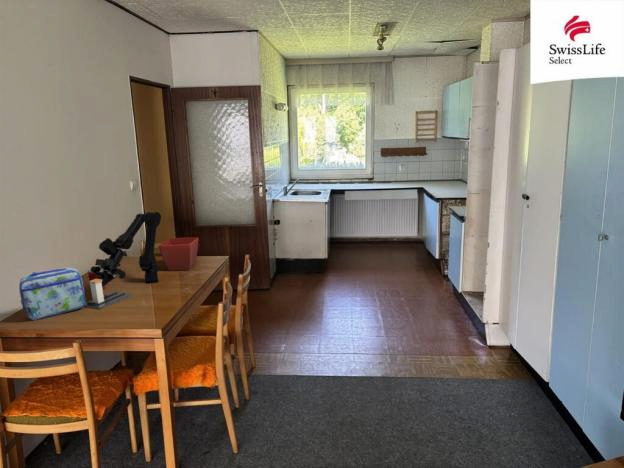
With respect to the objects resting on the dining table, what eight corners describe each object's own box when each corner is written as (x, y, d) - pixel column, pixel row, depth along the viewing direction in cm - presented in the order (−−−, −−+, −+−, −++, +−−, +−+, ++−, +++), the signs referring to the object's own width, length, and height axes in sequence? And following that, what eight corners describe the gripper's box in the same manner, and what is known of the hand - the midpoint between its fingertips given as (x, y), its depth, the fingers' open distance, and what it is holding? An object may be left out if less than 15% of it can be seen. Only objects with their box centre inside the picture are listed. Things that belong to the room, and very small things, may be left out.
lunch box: (24, 323, 210) (16, 279, 205) (23, 316, 219) (15, 273, 214) (87, 309, 223) (81, 267, 219) (84, 303, 232) (78, 262, 228)
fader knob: (99, 299, 232) (95, 278, 230) (105, 300, 230) (102, 279, 228) (92, 302, 228) (88, 281, 226) (98, 303, 227) (95, 282, 224)
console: (114, 292, 246) (113, 288, 245) (131, 295, 241) (131, 290, 240) (82, 306, 228) (81, 301, 227) (100, 309, 223) (99, 304, 222)
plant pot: (171, 263, 297) (168, 238, 293) (201, 262, 296) (198, 236, 292) (161, 272, 278) (157, 245, 274) (192, 272, 277) (189, 244, 273)
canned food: (100, 291, 250) (97, 271, 247) (87, 290, 251) (84, 271, 249) (109, 286, 257) (106, 267, 255) (96, 286, 259) (93, 266, 256)
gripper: (90, 250, 234) (74, 278, 227) (118, 253, 227) (103, 281, 219) (105, 261, 243) (90, 288, 236) (132, 264, 236) (118, 292, 228)
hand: (100, 287), depth 230 cm, fingers closed, pressing on fader knob
